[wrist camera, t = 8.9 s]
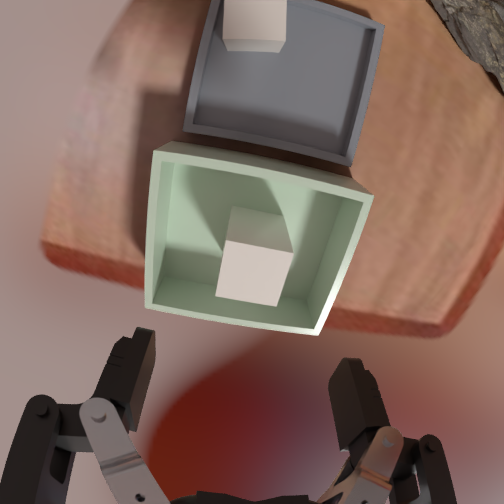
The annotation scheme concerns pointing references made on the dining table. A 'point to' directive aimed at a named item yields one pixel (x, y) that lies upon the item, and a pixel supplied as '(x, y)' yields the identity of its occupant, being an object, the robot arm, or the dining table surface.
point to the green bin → (215, 226)
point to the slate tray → (289, 83)
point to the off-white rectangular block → (254, 257)
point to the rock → (477, 30)
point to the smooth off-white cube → (254, 25)
